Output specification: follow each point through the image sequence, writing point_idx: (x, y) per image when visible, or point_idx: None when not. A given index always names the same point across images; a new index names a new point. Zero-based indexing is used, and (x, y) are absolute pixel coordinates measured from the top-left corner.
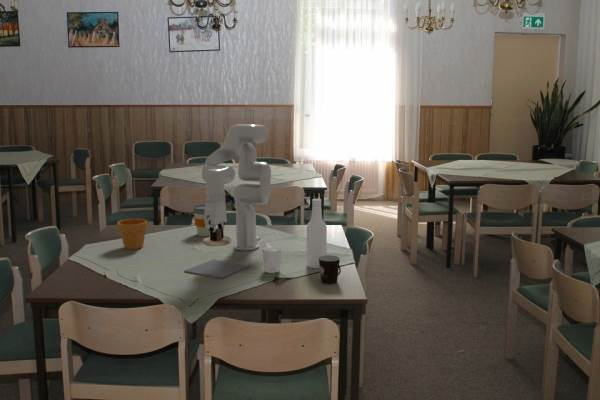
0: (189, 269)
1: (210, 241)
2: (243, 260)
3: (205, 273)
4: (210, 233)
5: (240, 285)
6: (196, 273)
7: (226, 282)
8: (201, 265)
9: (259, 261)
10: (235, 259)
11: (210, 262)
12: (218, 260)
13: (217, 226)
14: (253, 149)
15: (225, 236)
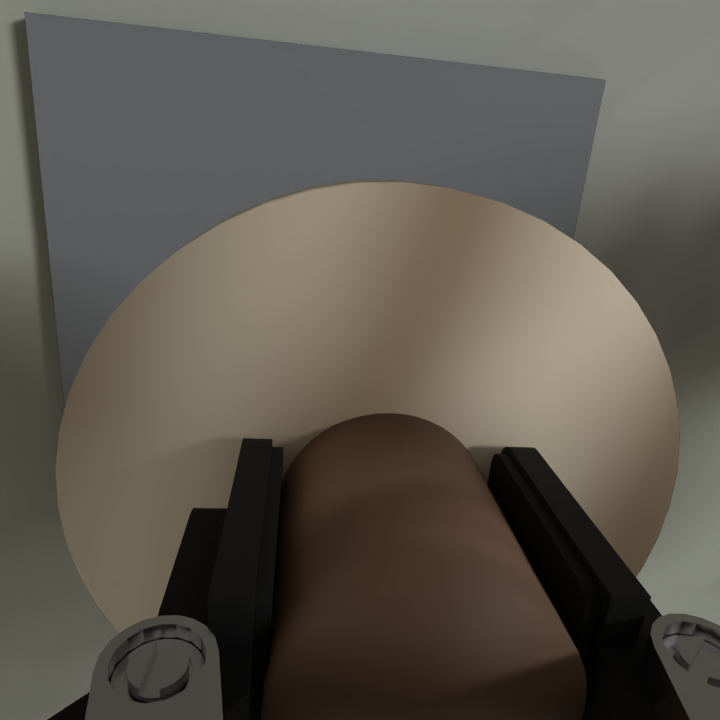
0: (103, 52)
1: (186, 472)
2: (681, 375)
3: (92, 329)
4: (159, 613)
5: (46, 715)
6: (47, 226)
7: (36, 603)
8: (321, 97)
9: (683, 508)
10: (697, 288)
11: (475, 127)
12: (578, 169)
13: (672, 693)
14: None
15: (657, 517)
